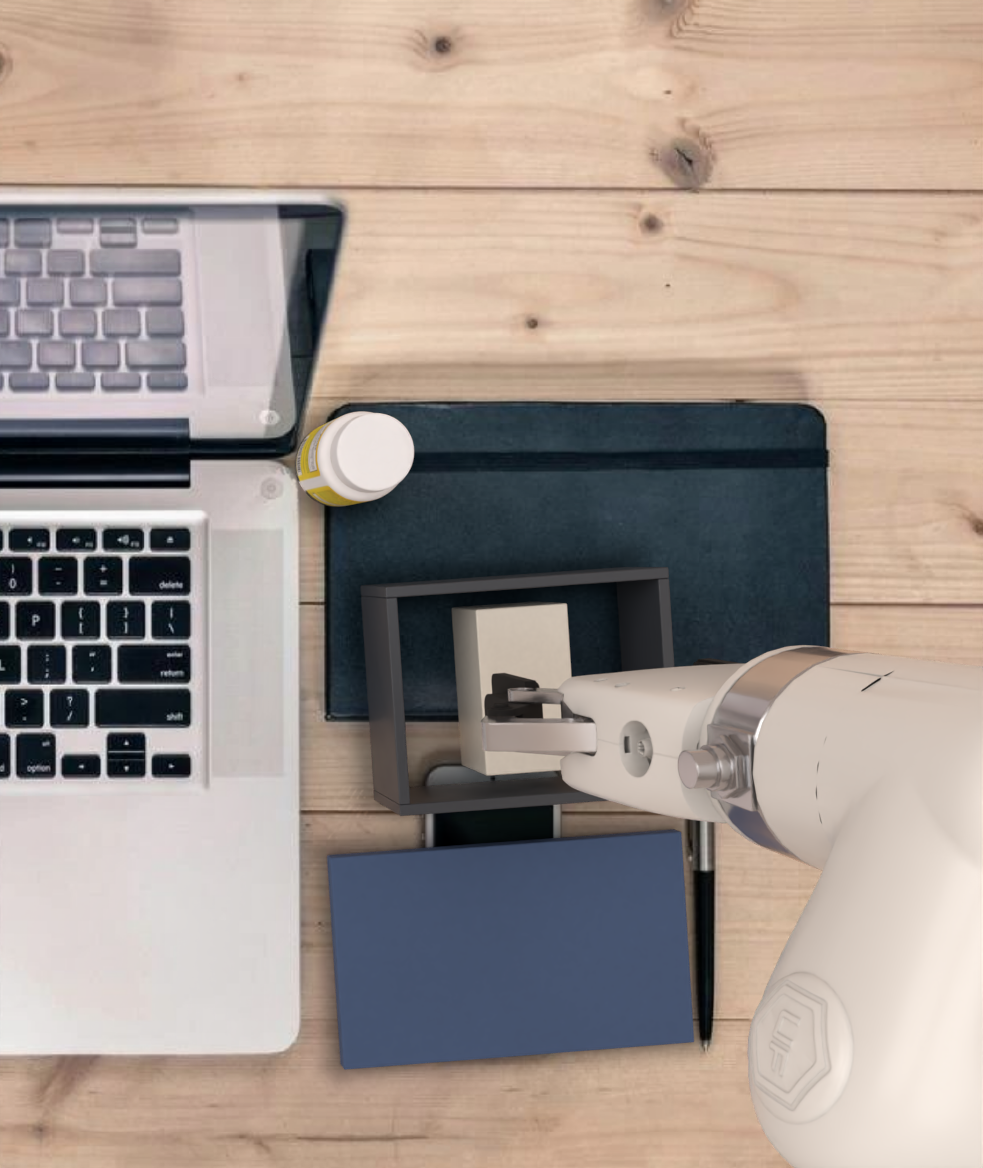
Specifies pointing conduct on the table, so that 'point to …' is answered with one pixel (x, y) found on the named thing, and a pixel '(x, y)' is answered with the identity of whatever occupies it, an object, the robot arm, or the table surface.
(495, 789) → the dark grey rectangular frame
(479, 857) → the pad
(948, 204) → the table surface
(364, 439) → the supplement bottle
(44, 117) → the table surface
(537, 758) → the block
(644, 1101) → the table surface
